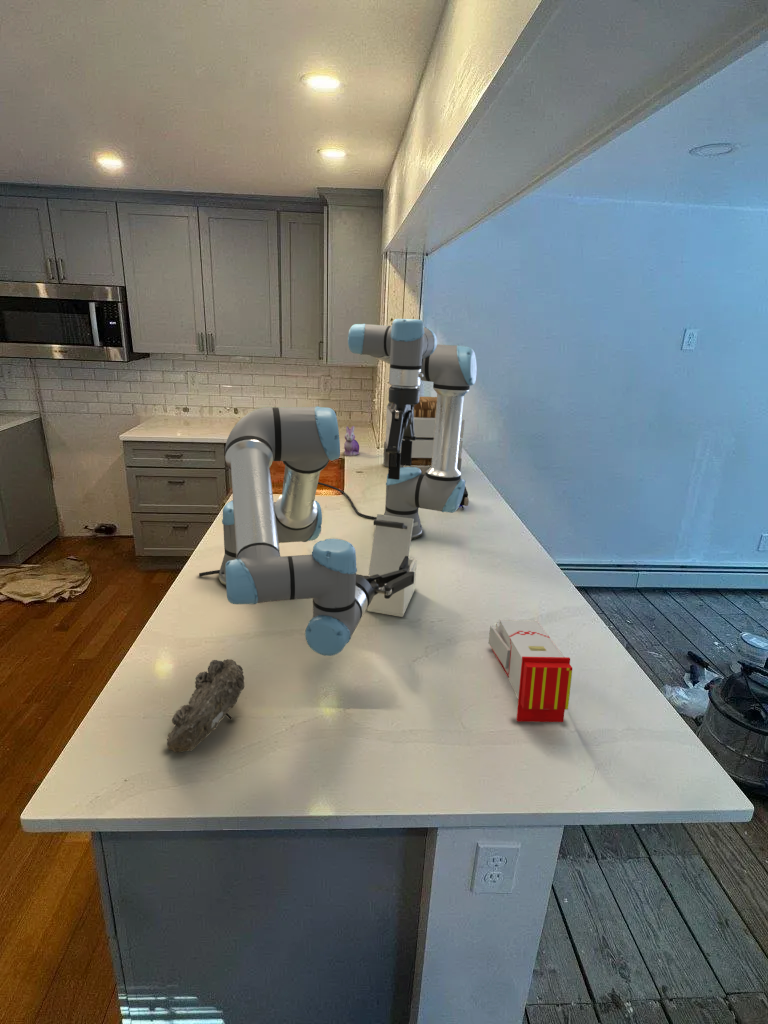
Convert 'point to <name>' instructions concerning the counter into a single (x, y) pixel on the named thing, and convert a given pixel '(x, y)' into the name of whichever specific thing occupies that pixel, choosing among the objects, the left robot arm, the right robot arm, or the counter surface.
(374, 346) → the right robot arm
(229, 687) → the fossil
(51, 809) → the counter surface
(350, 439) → the figurine
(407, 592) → the chest
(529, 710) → the toy
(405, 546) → the lid
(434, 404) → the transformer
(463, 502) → the figurine character
